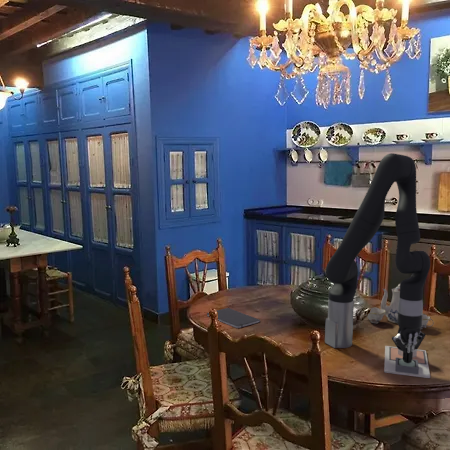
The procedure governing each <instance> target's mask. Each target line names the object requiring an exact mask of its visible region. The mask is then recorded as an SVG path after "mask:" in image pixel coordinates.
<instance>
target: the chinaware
mask: <svg viewBox="0 0 450 450" xmlns="http://www.w3.org/2000/svg"><path fill="white" fill-rule="evenodd" d="M382 290H383V292H384V293H383V296H382V299H381V302H380V308H379V307H374V306H373V307H371V308H370V309H371V311H370V313H369V314H368V316H367V315H366V316H367V317H366V318H367V319H368V320H369V321H370V323H371V324H379V323H380V321H381V320H383V318H384V316H385V317H386V318H387V321H388V322H390V323H393V324H397V325H398V323H397V321H398V303H399V297H400V283H398V285H397V286H396V287H394V288H391V292H392V298H391V301H390V305H387V301H388V290H387V289H386V288H382ZM429 321H432V324H431V325H428V323H429ZM434 324H435V323H434V320H433V319H432V318H431V316H429V315H427V314H426V313H422V326H421V327H420V331H422V330H423V328H424V329H426V328H427V327H428V328H429V327H430V328H431V327H433V326H434Z"/></svg>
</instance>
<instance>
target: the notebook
mask: <svg viewBox="0 0 450 450" xmlns="http://www.w3.org/2000/svg"><path fill="white" fill-rule="evenodd" d="M216 311H217V312H218V320H219V321H218V320H217V321H218V322H221V323H223V324H226V325H228V326H231V327H233V328H234V329H241V328H243V327H246V326H250V325H253V324H257V323H260V322H261V319H259V318H257V317H253V316H251V315H249V314H246V313H242V312H241V311H237V310H235V309H232V308H231V307H227V308H226V307H225V308H222V309H218V310H216ZM206 315H207V317H209V312H207V313H206Z"/></svg>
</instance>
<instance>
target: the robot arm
mask: <svg viewBox="0 0 450 450" xmlns="http://www.w3.org/2000/svg"><path fill="white" fill-rule="evenodd" d="M415 162H416V161H415V160H414V158H412V157H410V156H409V155H404V154H398V153H393V152H392V153H388V154H386V155H384V156H383V157H382V158H381V160H380V161H379V163H378V165H377V168H376V170H375V173H374V175H373V178H372V180H371V181H370V182H371V183H370V185H369V187H368V190H367V192H366V194H365V195H364V198H363V200H362V202H361V203H360V206H359V207H358V209H357V210H356V212H355V214H354V216H353V218H352V220H351V222H350V224H349V227H348V228H347V229H346V232H345V234H344V236H343V238H342V240H341V242H340V244H339V246H337V249H336V251H335V252H334V253H333V255H332V256H331V258H330V259H329V261H328V262H327V264H326V267H325V275H326V278H327V280H328V281H329V282H331V283H332V284H333V285H332V286H331V288H330V289H329V291H328V302H327V303H328V305H327V306H328V307H327V317H326V318H325V326H324V329H325V330H324V343H325V344H327V345H328V346H330V347H331V348H334V349H346V348H350V347H351V346H353V334H354V333H353V331H354V327H353V326H354V307H355V295H356V292H357V287H358V276H359V269H358V264H357V262H356V258H357V257H358V255H359V254H360V253H361V251H362V250H364V249H365V247H366V246H367V245H368V244H369V243H370V242H371V240H373V238H374V236H375V235H376V234H377V232H378V231H379V229H380V227H381V225H382V223H383V221H384V218H385V208H386V206H385V204H386V203H385V202H386V198H387V196H388V193H389V192H390V189H391V188H392V186H393V184H394V183H396V186H397V188H398V202H397V207H396V212H395V217H394V222H395V224H394V225H395V229H396V230H395V231H396V236H397V242H396V243H397V244H396V251H395V252H396V253H395V259H394V262H395V266H396V269H397V270H398V272H399V273H401V274H405V275H406V274H411V275H410V276H409V277H408V278H405V279H402V281H400V283H399V284H400V297H399V303H398V321H397V323H398V324H397V323H396V324H397V325H398V330H397V334H396V335H395V336H391V340H392V341H393V344H394V345H395V347H397V348H398V349H399V350H401V351H403V361H404V362H406V363H411V362H412V356H413V352H414V350H415V349H418V350H419V348H420V345H421V344H422V342H423V341H424V340H425V337H426V333H424V332H422V330H420V327H421V326H422V314H424V313H423V312H424V311H423V310H424V308H423V307H424V305H423V304H424V302H423V298H424V297H423V296H424V294H423V293H424V286H425V284H426V282H427V281H426V280H427V277H428V275H429V272H430V268H431V259H430V256H429V255H428V253H427V252H426V251H424V250H413V251H412V250H411V247H412V245H414V244H415V245H416V244H417V243H419V242H420V241H421V232H420V226H419V219H418V214H417V213H418V211H417V167H416V163H415ZM410 250H411V251H410ZM416 342H417V344H416Z"/></svg>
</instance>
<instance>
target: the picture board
mask: <svg viewBox="0 0 450 450" xmlns="http://www.w3.org/2000/svg"><path fill="white" fill-rule="evenodd" d="M401 359H403V357H402V356H400V355H398V348H397V346H390V345H384V365H383V367H384V370H383V371H384V372H383V373H385V374H387V373H388V374H393V375H401V376H411V377H415V378H416V377H417V378H425V379H431V373H430V368H429V362H428V356H427V351H426V350H424V349H419V348H418V349H417V356H416V357H413V358H412V361H414V362H415V367H409V366H401V365H399V360H401Z"/></svg>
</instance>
